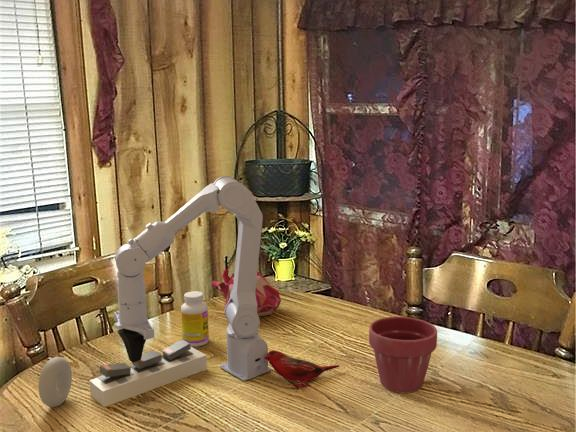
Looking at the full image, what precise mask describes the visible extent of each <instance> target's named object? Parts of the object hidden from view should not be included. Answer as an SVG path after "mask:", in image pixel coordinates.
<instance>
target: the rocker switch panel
mask: <svg viewBox="0 0 576 432" xmlns="http://www.w3.org/2000/svg"><path fill="white" fill-rule="evenodd" d="M161 356H162V361H159V362H157V363H154V364H151V365H149V366H146V367H143V368H141V369H139V368H137V367H136V366H134V365H133V364H132V365H129V367H130V368H131V371H130V374H127V375H119V376H111V377H105V376H104V375H103V374H101V375H99V376H97V377H95V378H92V379H89V382H88V383H89V391H90V396H91V397H92V398H93V400H95V401H97V402H98V404H100V405H101V406H102V407H103V408H106V407H108V406H111V405H113V404H117V403H119V402H121V401H122V402H123V401H125V400H128V399H130V398H133V397H136V396H138V395H142V394H144V393H147V392H149V391H152V390H155V389H157V388H161V387H163V386H166V385H168V384H171V383H174V382H177V381H179V380H183V379H185V378H187V377H190V376H192V375H195V374H197V373H198V374H199V373H201V372H204V371H206V370H208V360H207V354H205V353H203V352H201V351H200V350H198V349H196V348H195V347H191V349H190V350H188V351H186V352H184V353H183V354H181V355H179V356H177V357H176V358H174V359H172V360H169V359H168V358H166V357H165V356H163V354H161Z"/></svg>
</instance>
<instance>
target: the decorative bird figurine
mask: <svg viewBox="0 0 576 432" xmlns="http://www.w3.org/2000/svg"><path fill="white" fill-rule="evenodd" d="M263 359H267V360H268V364H269V365H270V366H271V368H273V369H274V371H275V373H276V374H278V376H280V377H281V378H283V379H285V380H288V381H289V382H294V383H292V384H291V383H287V384H286V385H287V386H293V387H298V388H299V387H307V386H311V385H310V384H309V383H307V382H308V381H311V380H314V379H317V378H318V377H319V376H320V375H321V374H323V373H325V372H328V371H330V370H333V369H334V370H335V369H337V368H339V367H340V365H336V364H335V365H325V366H320V365H318V364H316V363H313V362H310V361H307V360H304V359H298V358H294V357H291V356H288V355H286V354H285V353H283V352H281V351H278V350H270V351H268V354H267V356H265V357H264V358H263Z"/></svg>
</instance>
